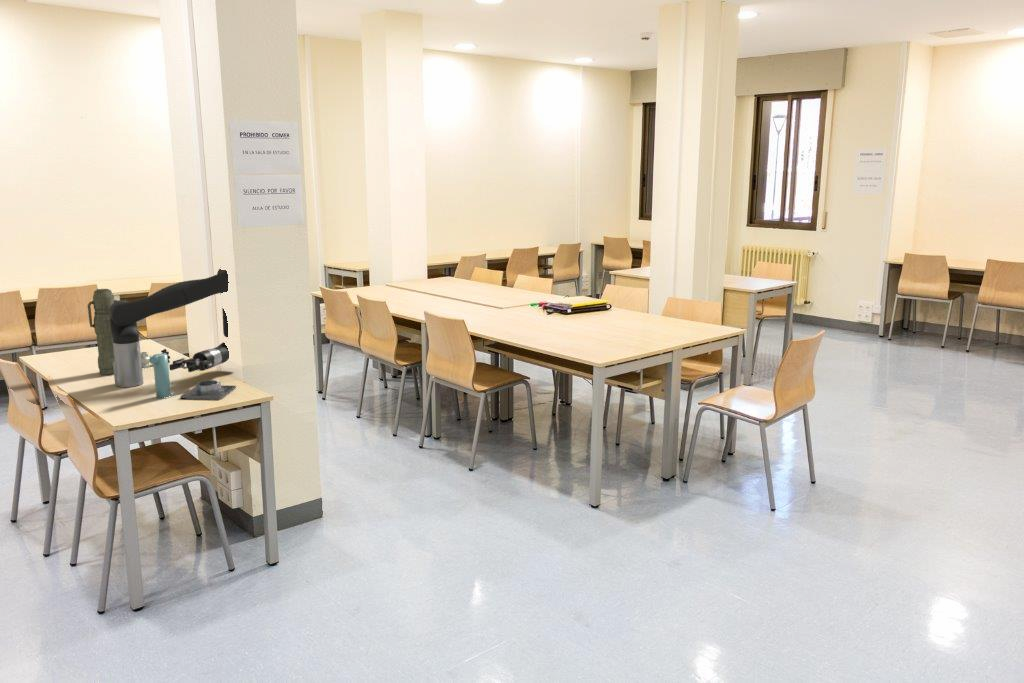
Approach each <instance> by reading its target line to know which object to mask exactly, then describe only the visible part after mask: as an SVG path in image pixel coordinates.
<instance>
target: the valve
mask: <svg viewBox="0 0 1024 683" xmlns="http://www.w3.org/2000/svg"><path fill="white" fill-rule="evenodd" d="M140 352H141V363H142V368H144V370H145V368H146V369H150V361H149V358H150V357H152V356H153V355H149V352H148V351H143V352H142V351H140ZM160 354H167V355H168V364H169V363H171V360H170V359H171V356H170V355H169V354H170V352H169V351H168V350H167V348H164V349H163V350H161V351H160Z"/></svg>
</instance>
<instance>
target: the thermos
mask: <svg viewBox="0 0 1024 683" xmlns="http://www.w3.org/2000/svg"><path fill="white" fill-rule="evenodd" d="M116 301H118V299H115V297H114V294H113V291H112V290H111V289H109V288H98V289H96V290H94V292H93V296H92V300H91V301H89V302H88V303H87V312H88V322H89V327H90V328H93V329H94V333H95V335H96V343H97V352H98V356H97V366H98V370H99V375H100V374H101V375H100V376H114V369H113V362H114V361H115V356H114V346H113V338H112V333H111V324H110V315H109V310H110V307H111V305H112V304H113V303H114V302H116ZM92 305H93V309H94V317H92V309H91V308H92V307H91V306H92ZM92 319H93V320H92Z"/></svg>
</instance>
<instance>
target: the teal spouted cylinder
mask: <svg viewBox="0 0 1024 683" xmlns="http://www.w3.org/2000/svg"><path fill="white" fill-rule="evenodd" d="M168 355H169V354H168ZM168 355H167V354H161V353H156V354H153V355H151V356H152V357H150V358H149V361H150V362H149V364H152V365H153V371H154V372H153V373H154V385H155V396H156V397H158V398H164V397H169V396H171V397H172V392H171V390H172V389H171V380H170V367H169V363H168ZM158 398H157V399H158ZM169 398H170V397H169ZM164 399H165V398H164Z"/></svg>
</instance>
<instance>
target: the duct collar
mask: <svg viewBox="0 0 1024 683" xmlns="http://www.w3.org/2000/svg"><path fill="white" fill-rule="evenodd" d="M235 388H236V389H237V385H224V384H223V385H222V384H221V380H218V379H217V380H216V379H207V380H201V381H198V382H196V383H195V386H194V387H192V388H191V389H190V390H187V391H186V392H184V393H183V394H182V395H180V397H179V398H180V399H181V398H186V399H185V400H207V399H221V400H222V399H224V398H225V397H227V396H228V395H230V394H231V393H232V392H233V390H234V389H235ZM236 389H235V390H236ZM235 390H234V391H235ZM231 391H232V392H231ZM230 392H231V393H230ZM227 394H228V395H227ZM226 395H227V396H226ZM223 397H224V398H223Z"/></svg>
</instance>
